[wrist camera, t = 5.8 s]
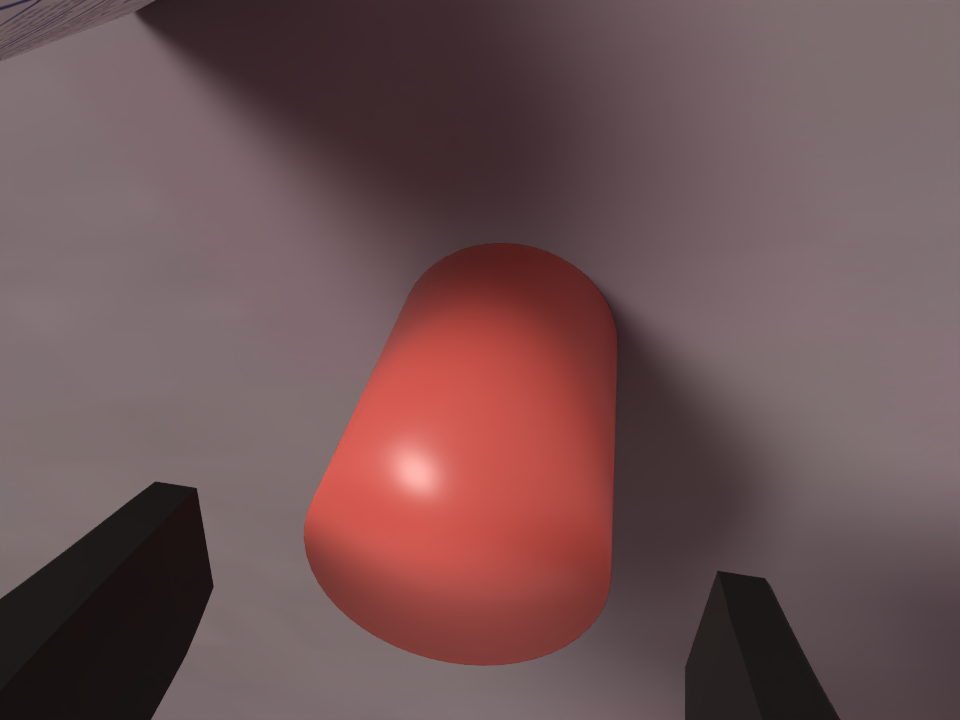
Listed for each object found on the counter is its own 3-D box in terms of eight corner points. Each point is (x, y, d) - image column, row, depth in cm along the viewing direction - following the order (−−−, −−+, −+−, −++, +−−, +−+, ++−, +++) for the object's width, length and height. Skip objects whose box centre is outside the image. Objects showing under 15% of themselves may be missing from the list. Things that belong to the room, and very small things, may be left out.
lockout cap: (635, 259, 15) (636, 472, 10) (600, 442, 18) (587, 686, 13) (401, 229, 16) (295, 421, 11) (399, 412, 18) (311, 638, 13)
